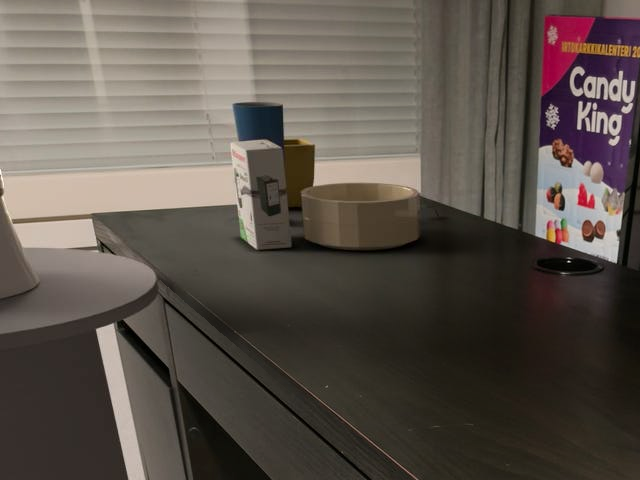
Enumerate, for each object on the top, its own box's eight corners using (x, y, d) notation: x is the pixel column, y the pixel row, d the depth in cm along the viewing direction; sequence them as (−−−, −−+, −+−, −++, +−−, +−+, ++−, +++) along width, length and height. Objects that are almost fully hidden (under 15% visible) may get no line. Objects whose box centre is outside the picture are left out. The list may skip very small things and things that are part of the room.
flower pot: (252, 202, 147) (245, 139, 142) (306, 199, 150) (300, 137, 145) (265, 212, 141) (258, 146, 135) (320, 209, 144) (315, 144, 138)
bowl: (308, 254, 118) (304, 203, 114) (301, 230, 130) (297, 183, 127) (428, 250, 121) (427, 201, 117) (410, 227, 133) (408, 181, 130)
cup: (238, 225, 132) (224, 105, 124) (256, 216, 138) (243, 101, 129) (283, 227, 131) (272, 107, 123) (299, 219, 137) (289, 103, 128)
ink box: (239, 237, 125) (227, 140, 118) (274, 235, 127) (265, 138, 120) (256, 250, 119) (244, 148, 112) (293, 247, 121) (284, 146, 114)
